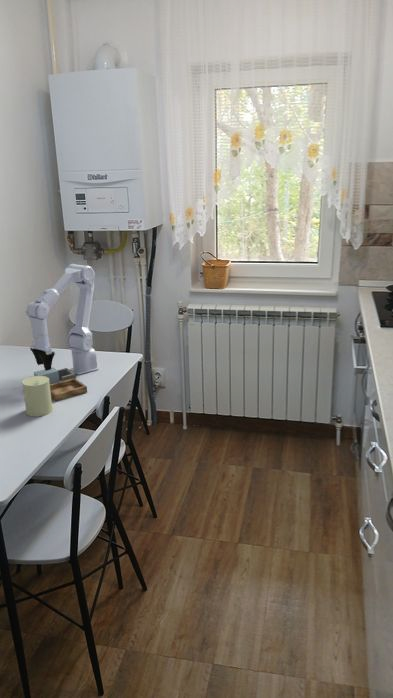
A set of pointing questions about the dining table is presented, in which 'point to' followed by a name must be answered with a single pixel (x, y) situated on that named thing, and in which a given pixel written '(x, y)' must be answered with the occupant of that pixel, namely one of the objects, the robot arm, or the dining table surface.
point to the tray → (67, 389)
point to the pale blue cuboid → (49, 375)
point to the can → (37, 395)
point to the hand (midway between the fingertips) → (44, 367)
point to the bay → (66, 374)
